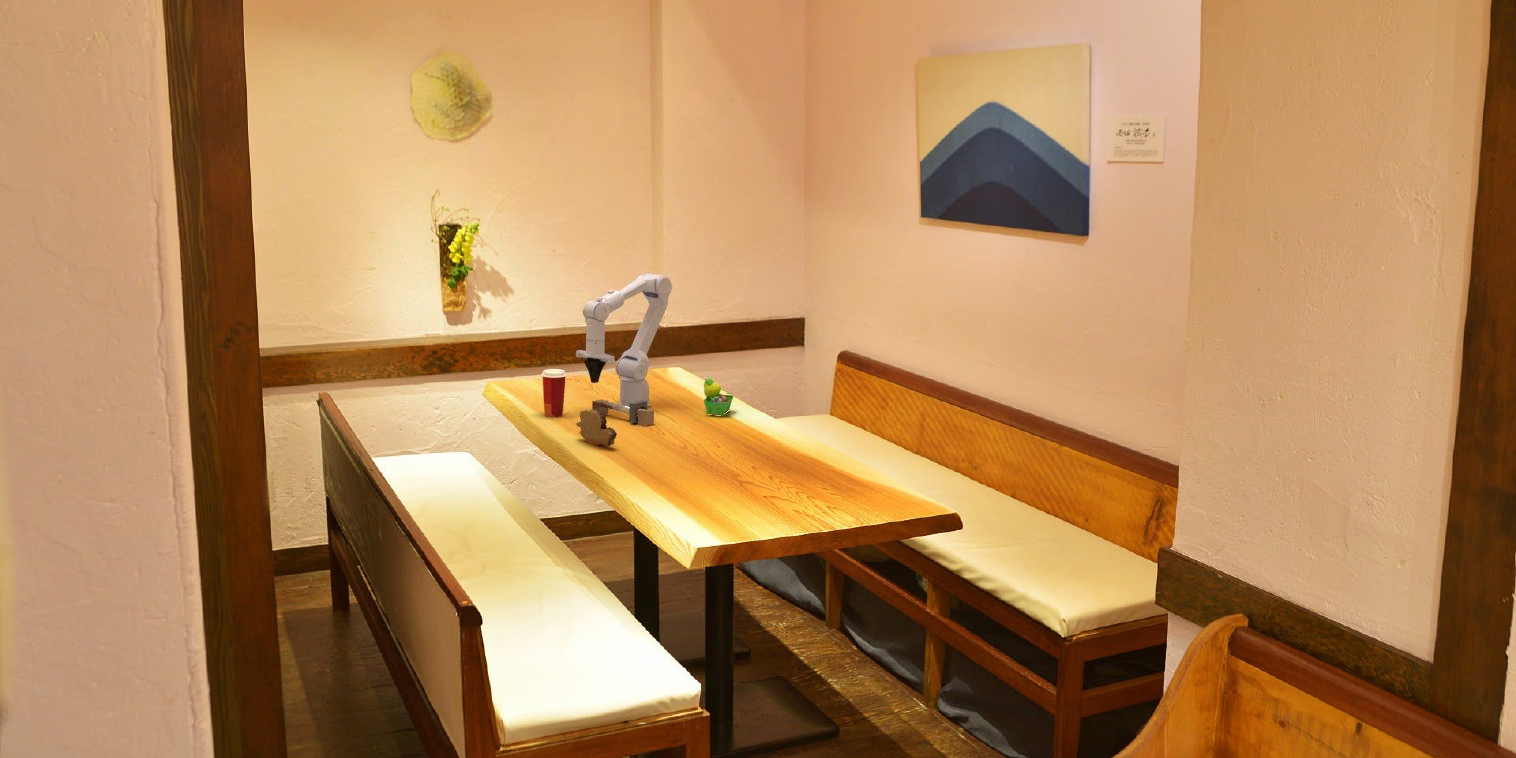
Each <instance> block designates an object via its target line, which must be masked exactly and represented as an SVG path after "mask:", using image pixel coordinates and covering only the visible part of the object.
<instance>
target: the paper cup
mask: <svg viewBox="0 0 1516 758" xmlns="http://www.w3.org/2000/svg"><path fill="white" fill-rule="evenodd" d="M540 376H541V377H542V394H543V396H542V397H543V411H544V416H545V417H547V418H548V417H550V418H559V417H562V416H563V415H564V404H565V402H564V401H565V389H566V377H567V374H566V371H565V370H563V369H560V368H549V369H548V368H547V369H544V370H543V371H542V373H541V375H540Z"/></svg>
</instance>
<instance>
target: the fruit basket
mask: <svg viewBox="0 0 1516 758" xmlns="http://www.w3.org/2000/svg"><path fill="white" fill-rule="evenodd" d="M703 388H704V390H703V392H704V395H705V397H706V398H704V400H703V403H704V407H705V412H706V415H707V414H712V415H721V416H723V415H724V413H726V412H727V411H728V410H729V411H730V409H731V406H732V402H733V399H734V395H731V394H723V393H721V390H722V387H721V386H720V385H719V384H718V383H717V382H716V381H715V380H713V379H712V378H711V377H710V378H709V377H708V378H705V380H704V383H703ZM729 411H728V412H729ZM728 412H727V413H728ZM727 413H726V414H727ZM724 416H725V415H724ZM724 416H723V417H724Z"/></svg>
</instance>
